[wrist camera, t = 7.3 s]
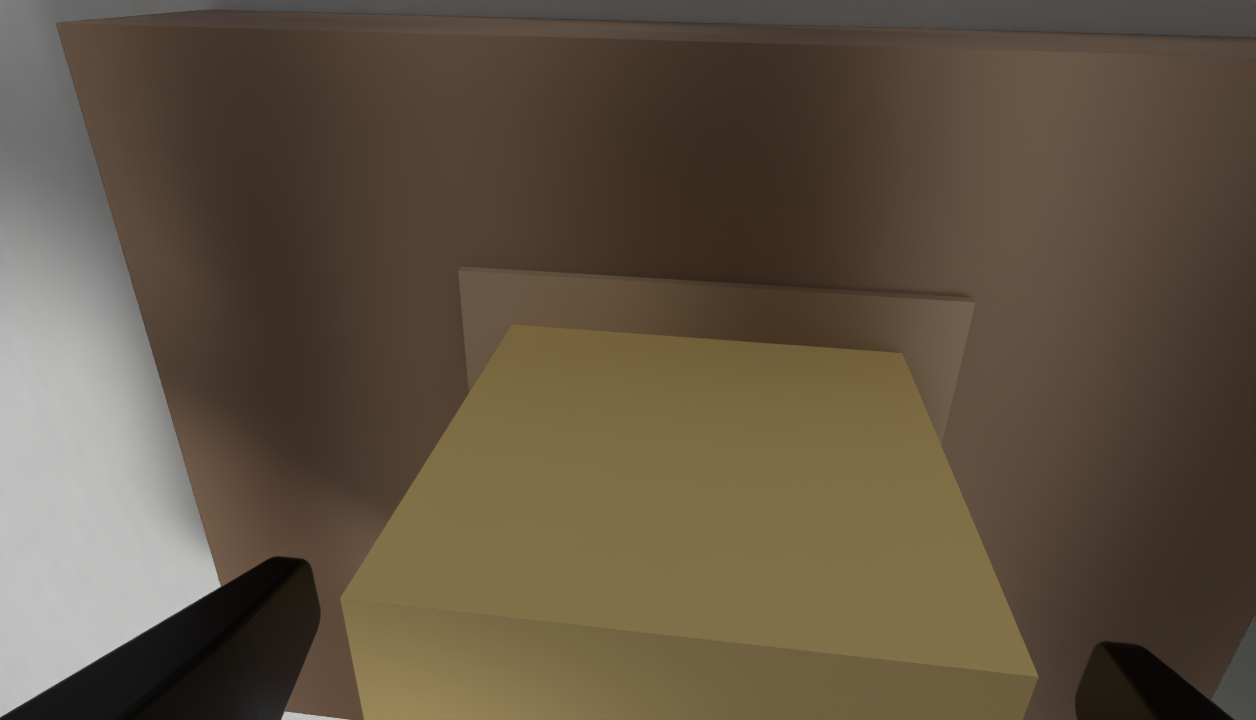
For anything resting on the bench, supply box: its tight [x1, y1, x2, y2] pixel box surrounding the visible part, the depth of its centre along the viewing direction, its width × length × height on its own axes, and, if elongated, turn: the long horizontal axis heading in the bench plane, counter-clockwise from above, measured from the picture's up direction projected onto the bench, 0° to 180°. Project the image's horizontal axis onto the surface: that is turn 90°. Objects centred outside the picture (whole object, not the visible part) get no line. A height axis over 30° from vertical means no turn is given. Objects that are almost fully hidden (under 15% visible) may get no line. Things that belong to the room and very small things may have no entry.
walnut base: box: [56, 10, 1256, 720], centre depth 12 cm, size 16×12×3 cm
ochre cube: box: [340, 325, 1039, 720], centre depth 9 cm, size 5×5×5 cm
